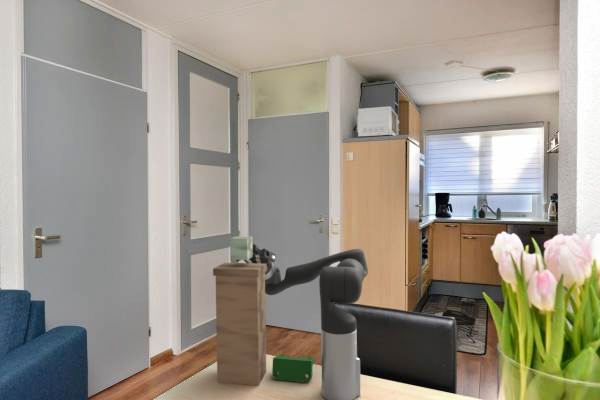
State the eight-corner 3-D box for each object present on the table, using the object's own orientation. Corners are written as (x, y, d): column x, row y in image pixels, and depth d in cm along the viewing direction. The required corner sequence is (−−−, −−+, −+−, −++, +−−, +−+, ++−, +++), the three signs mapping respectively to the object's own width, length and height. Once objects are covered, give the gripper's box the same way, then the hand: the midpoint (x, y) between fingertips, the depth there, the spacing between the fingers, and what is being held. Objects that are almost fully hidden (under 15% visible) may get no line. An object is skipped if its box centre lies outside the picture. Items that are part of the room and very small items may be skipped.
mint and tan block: (245, 252, 123) (245, 233, 123) (260, 252, 122) (260, 233, 122) (230, 259, 109) (230, 238, 109) (247, 259, 108) (247, 238, 108)
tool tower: (226, 368, 116) (224, 262, 115) (268, 371, 114) (266, 263, 113) (214, 382, 107) (213, 268, 107) (260, 386, 105) (258, 269, 104)
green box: (307, 390, 111) (320, 360, 112) (303, 395, 105) (317, 364, 107) (271, 369, 115) (284, 340, 116) (265, 373, 109) (279, 343, 110)
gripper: (243, 255, 134) (227, 235, 120) (282, 255, 132) (271, 235, 117) (240, 276, 131) (223, 258, 116) (280, 277, 129) (268, 258, 114)
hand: (247, 246), depth 117 cm, fingers closed on mint and tan block, 2 cm apart
